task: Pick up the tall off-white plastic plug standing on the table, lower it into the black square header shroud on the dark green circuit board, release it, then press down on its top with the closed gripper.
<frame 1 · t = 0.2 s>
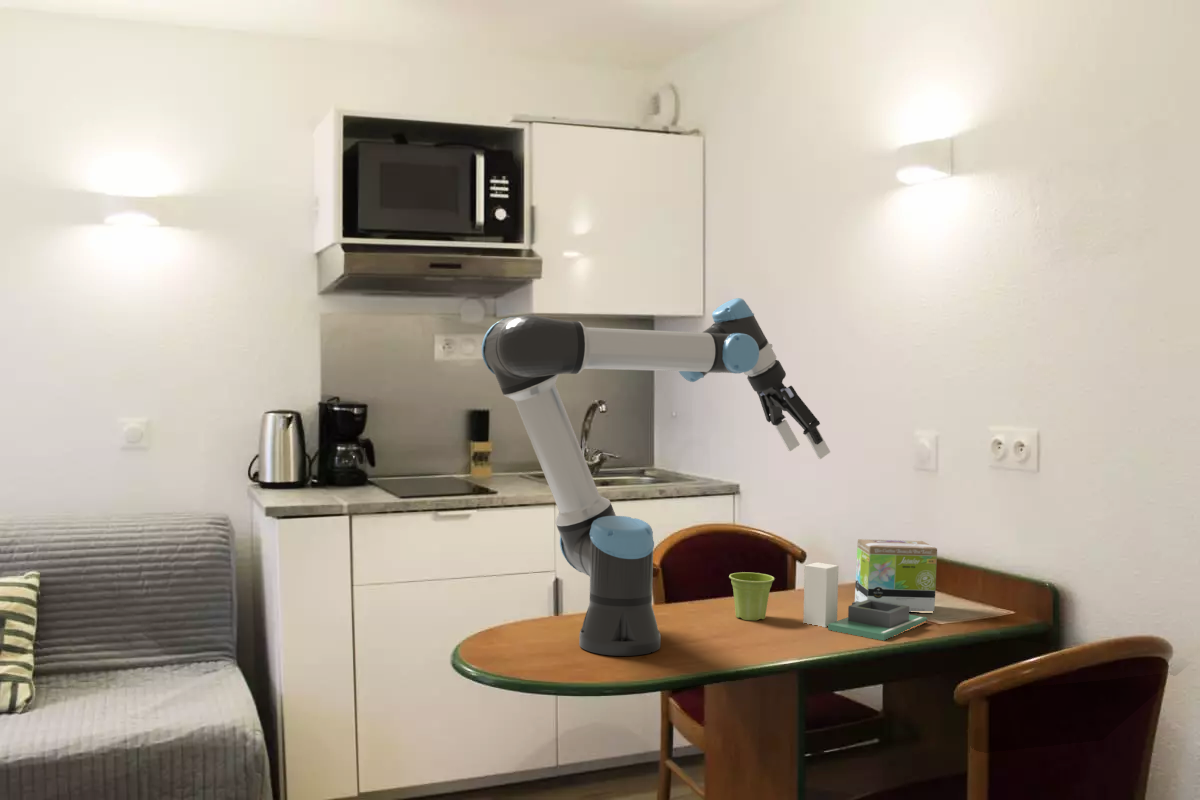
hand: (809, 451, 223), 35 cm above the table, tool tilted 35°, fingers open, 13 cm apart
plant pot: (750, 618, 220), on the table
tea box: (894, 609, 231), on the table
board: (878, 626, 214), on the table
plug: (820, 623, 216), on the table
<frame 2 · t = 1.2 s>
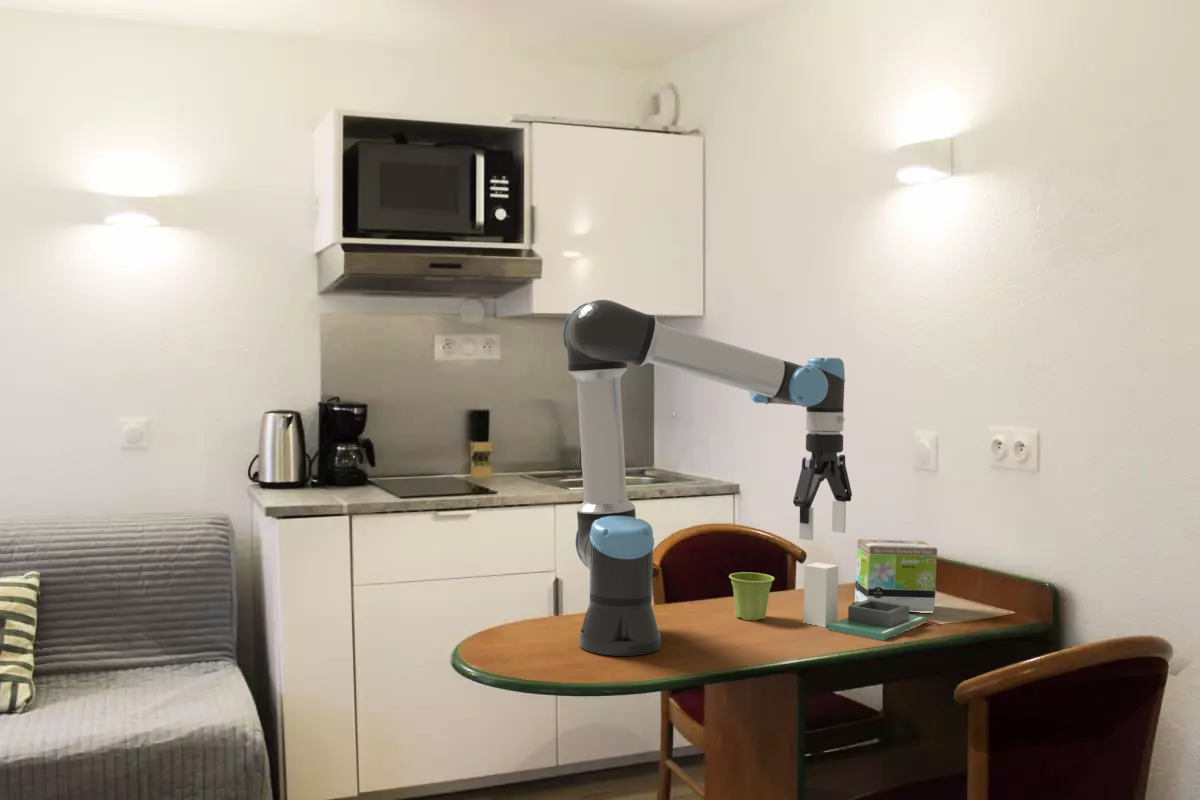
hand: (822, 535, 216), 18 cm above the table, tool pointing down, fingers open, 13 cm apart
nothing on the table moved.
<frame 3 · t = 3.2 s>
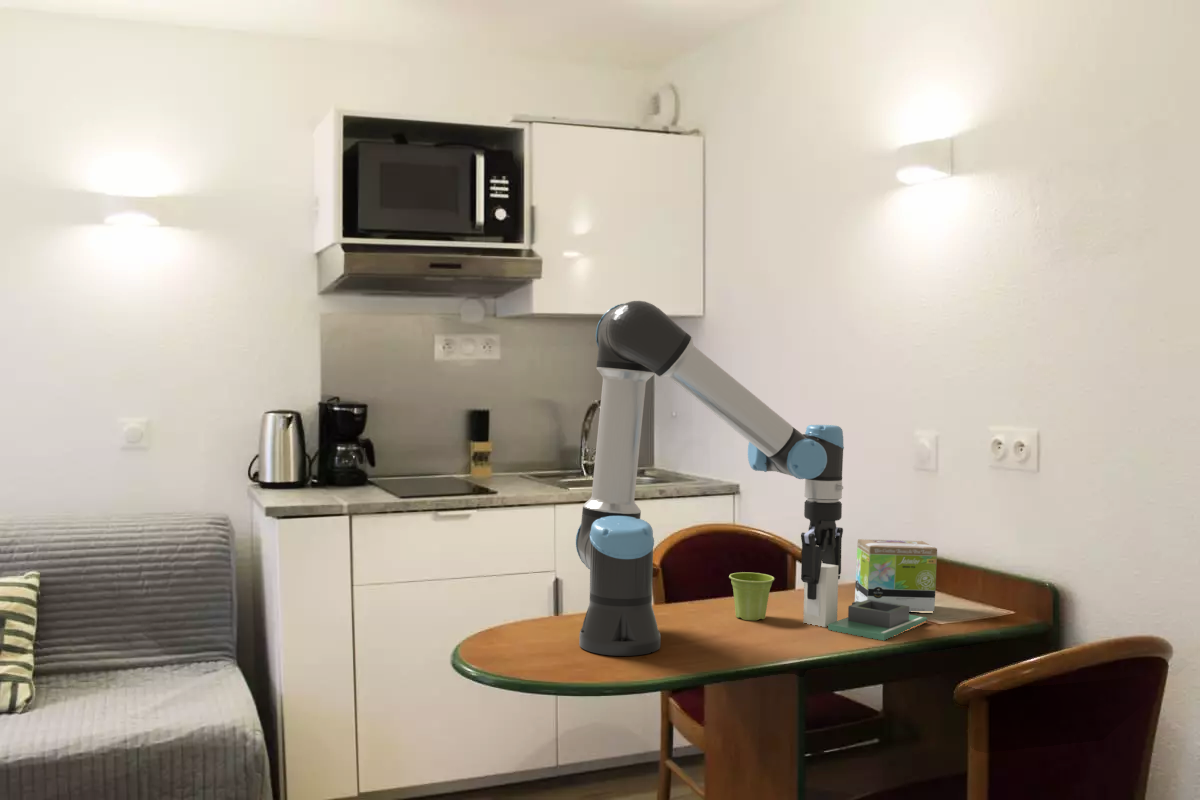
hand: (820, 612, 216), 2 cm above the table, tool pointing down, fingers closed on plug, 5 cm apart
plug: (820, 623, 216), on the table, touching gripper
everything else where it was.
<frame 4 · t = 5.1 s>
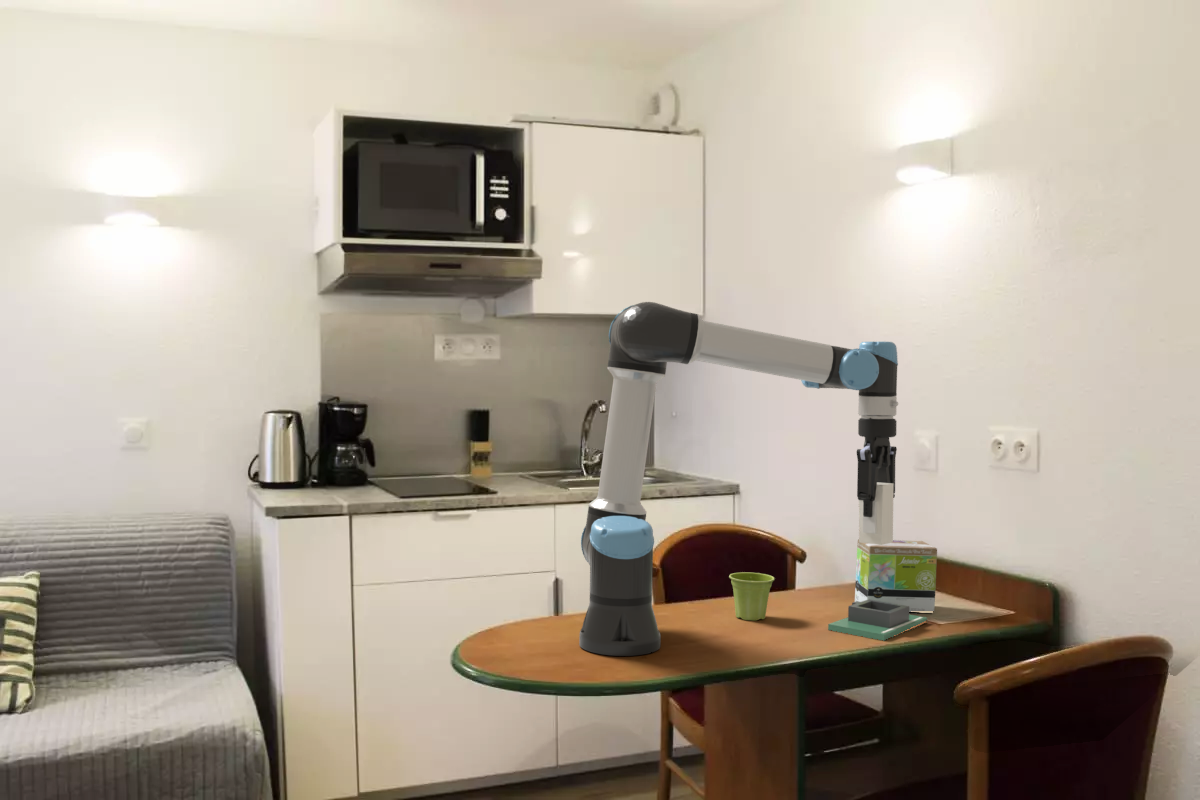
hand: (876, 531, 214), 20 cm above the table, tool pointing down, fingers closed on plug, 5 cm apart
plug: (875, 542, 214), point 17 cm above the table, touching gripper
everything else where it was.
when the fingers open (5 cm above the table, at t = 7.3 s): plug drops 1 cm, resting on board.
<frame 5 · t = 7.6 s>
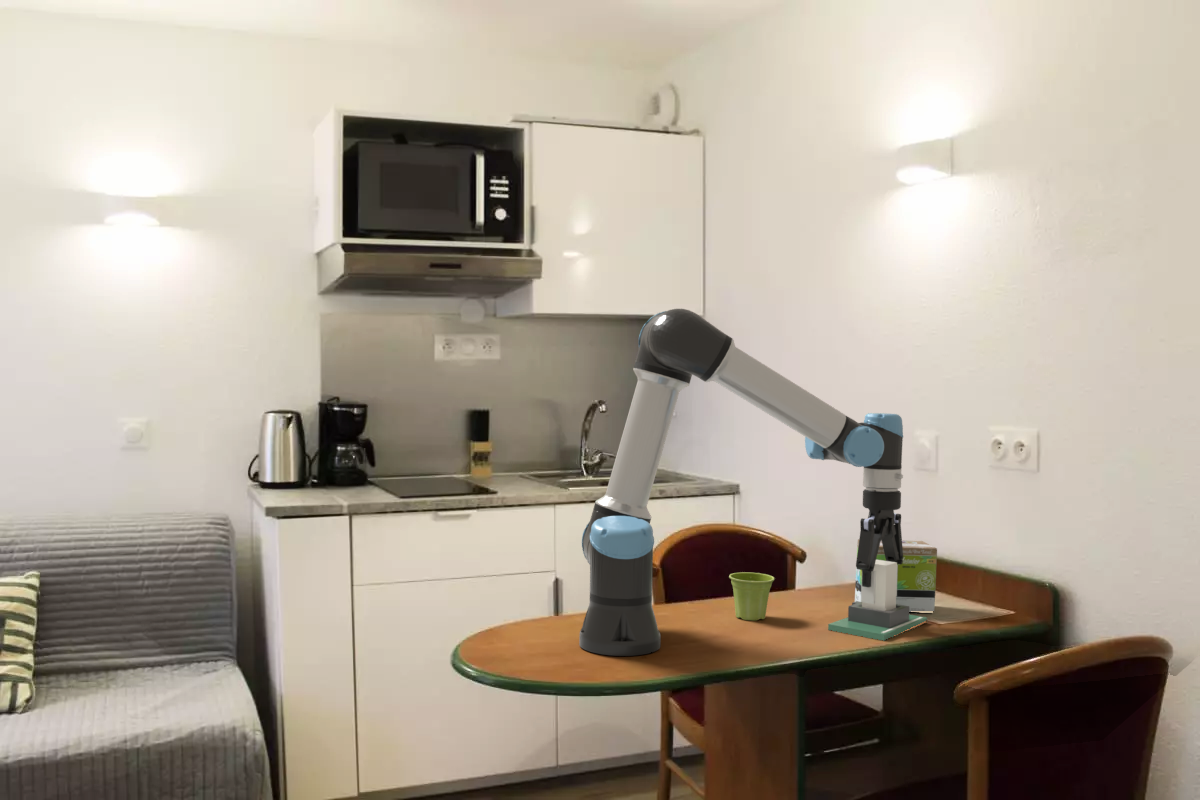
hand: (879, 598, 214), 6 cm above the table, tool pointing down, fingers open, 9 cm apart
plug: (878, 620, 214), point 1 cm above the table, touching board
everything else where it was.
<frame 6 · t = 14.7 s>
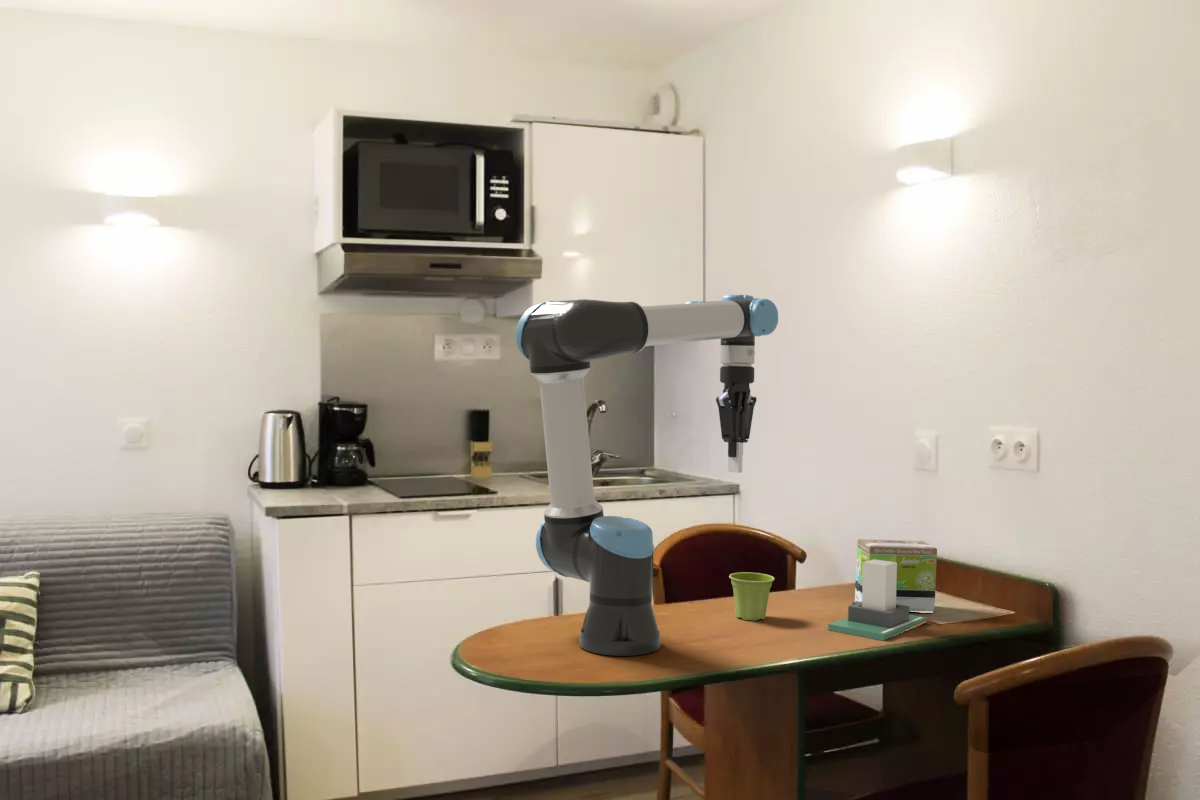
hand: (735, 471, 232), 29 cm above the table, tool pointing down, fingers closed
nothing on the table moved.
at the end: plug 0.0 cm off-centre on the board, point 1.2 cm above the board's base; plug tilted 0°; the gripper is holding nothing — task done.
